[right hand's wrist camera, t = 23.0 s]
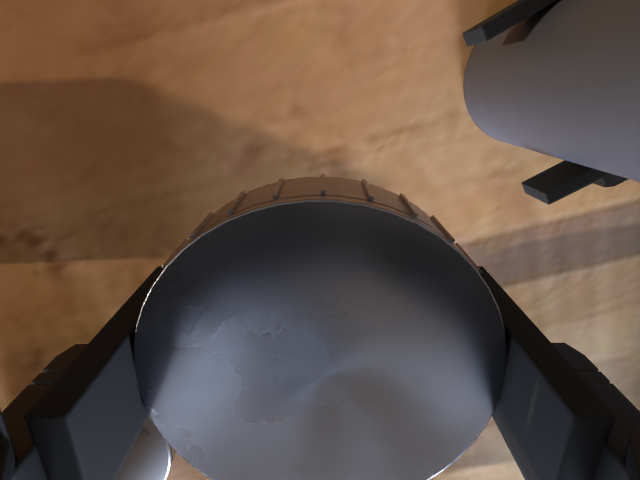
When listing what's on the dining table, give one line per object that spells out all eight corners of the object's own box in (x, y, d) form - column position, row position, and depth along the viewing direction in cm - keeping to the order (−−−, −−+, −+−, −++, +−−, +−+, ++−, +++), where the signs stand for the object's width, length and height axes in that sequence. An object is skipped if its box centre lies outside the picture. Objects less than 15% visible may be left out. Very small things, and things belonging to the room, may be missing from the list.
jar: (501, 167, 30) (776, 287, 12) (439, 65, 28) (668, 25, 10) (612, 91, 28) (1134, 98, 10) (557, -26, 26) (1116, -288, 8)
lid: (509, 186, 11) (558, 212, 9) (445, 450, 14) (468, 518, 12) (154, 160, 11) (109, 180, 8) (174, 435, 14) (146, 501, 12)
